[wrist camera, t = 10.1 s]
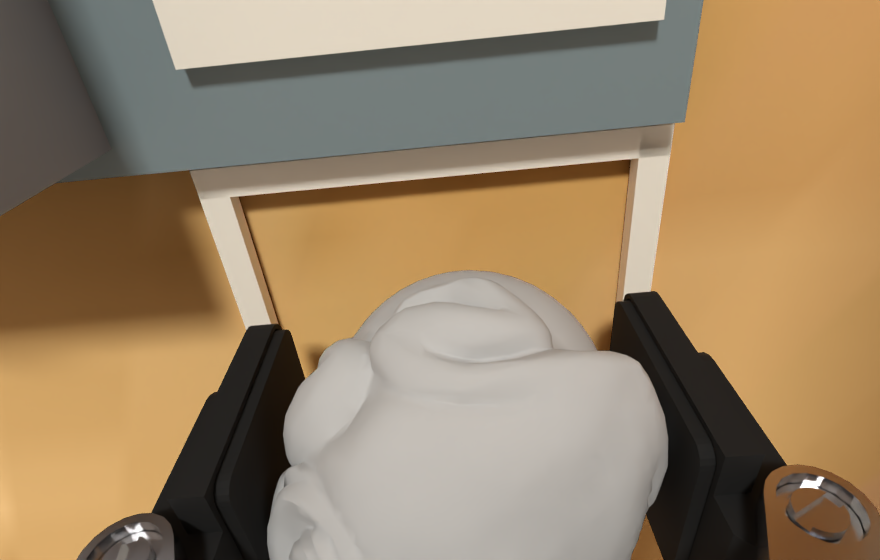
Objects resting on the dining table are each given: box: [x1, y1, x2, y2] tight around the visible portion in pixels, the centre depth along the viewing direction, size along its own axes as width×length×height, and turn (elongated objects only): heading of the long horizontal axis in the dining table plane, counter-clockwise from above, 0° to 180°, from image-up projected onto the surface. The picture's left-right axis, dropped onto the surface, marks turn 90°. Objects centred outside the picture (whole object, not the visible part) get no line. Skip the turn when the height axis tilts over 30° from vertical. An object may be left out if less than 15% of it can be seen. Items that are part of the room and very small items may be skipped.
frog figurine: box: [267, 270, 668, 560], centre depth 9 cm, size 6×7×7 cm
